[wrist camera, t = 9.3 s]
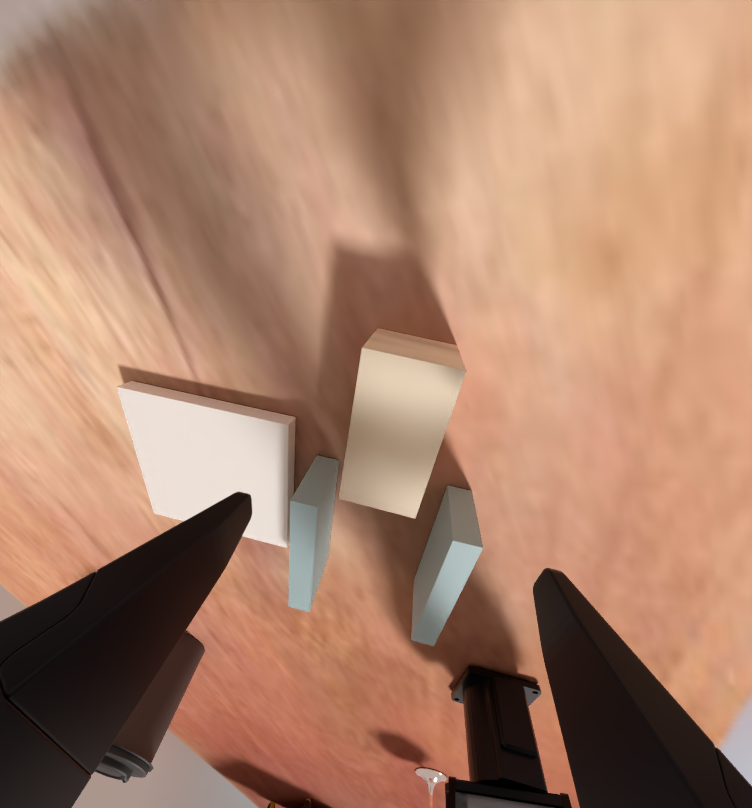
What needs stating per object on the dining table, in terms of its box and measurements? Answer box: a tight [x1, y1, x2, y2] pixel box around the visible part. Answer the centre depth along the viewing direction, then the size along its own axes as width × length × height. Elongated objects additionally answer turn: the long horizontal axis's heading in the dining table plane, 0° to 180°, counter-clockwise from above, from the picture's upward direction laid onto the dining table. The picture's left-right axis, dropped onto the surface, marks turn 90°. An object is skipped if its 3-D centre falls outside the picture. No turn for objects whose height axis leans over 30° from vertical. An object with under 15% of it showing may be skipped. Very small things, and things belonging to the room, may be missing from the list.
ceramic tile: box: [117, 381, 296, 548], centre depth 20 cm, size 11×11×1 cm
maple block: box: [338, 328, 466, 519], centre depth 14 cm, size 8×4×4 cm, turn 170°
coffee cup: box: [95, 633, 205, 783], centre depth 30 cm, size 8×8×10 cm
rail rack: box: [289, 455, 483, 646], centre depth 18 cm, size 10×10×4 cm
